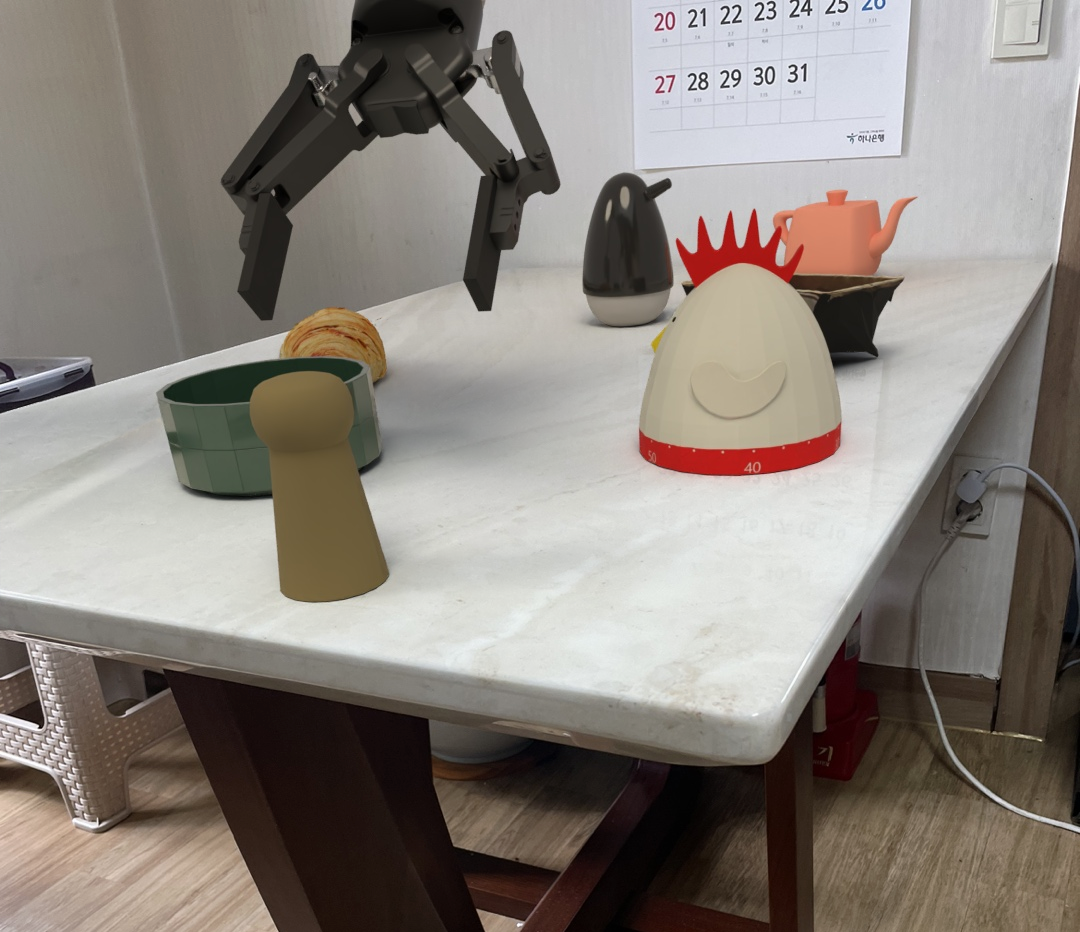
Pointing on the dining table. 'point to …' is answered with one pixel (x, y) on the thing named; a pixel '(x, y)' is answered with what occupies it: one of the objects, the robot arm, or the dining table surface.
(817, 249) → the teapot
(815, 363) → the kitchen timer
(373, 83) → the robot arm
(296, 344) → the croissant
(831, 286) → the baking dish
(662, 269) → the pump dispenser
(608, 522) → the dining table surface
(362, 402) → the green tiled bowl
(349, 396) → the cork
